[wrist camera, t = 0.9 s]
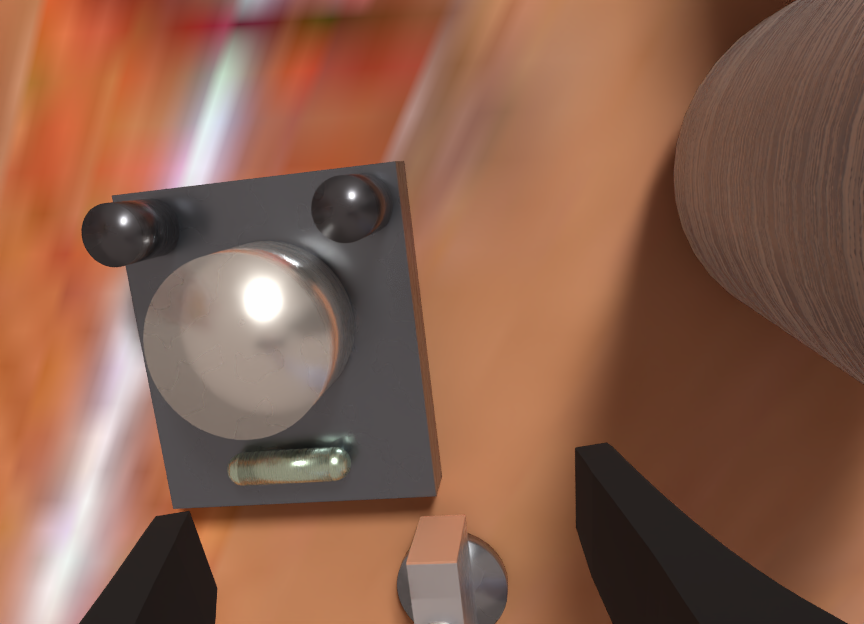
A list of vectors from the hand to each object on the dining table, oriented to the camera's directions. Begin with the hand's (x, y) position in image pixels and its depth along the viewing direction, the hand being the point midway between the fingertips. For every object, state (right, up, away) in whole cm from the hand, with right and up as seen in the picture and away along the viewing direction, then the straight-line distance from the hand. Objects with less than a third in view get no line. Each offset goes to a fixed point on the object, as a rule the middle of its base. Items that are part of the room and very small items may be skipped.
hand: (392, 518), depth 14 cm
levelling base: (-6, +3, +19) cm, 20 cm away
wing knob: (+2, -8, +20) cm, 22 cm away
